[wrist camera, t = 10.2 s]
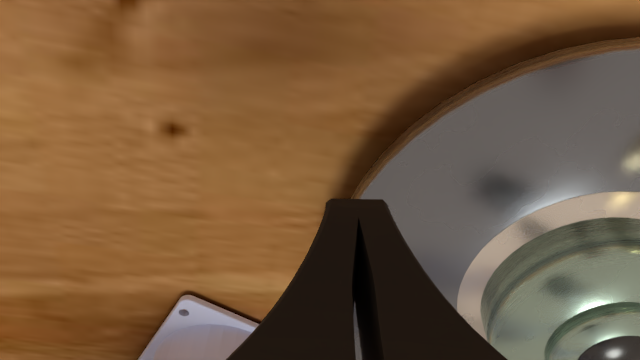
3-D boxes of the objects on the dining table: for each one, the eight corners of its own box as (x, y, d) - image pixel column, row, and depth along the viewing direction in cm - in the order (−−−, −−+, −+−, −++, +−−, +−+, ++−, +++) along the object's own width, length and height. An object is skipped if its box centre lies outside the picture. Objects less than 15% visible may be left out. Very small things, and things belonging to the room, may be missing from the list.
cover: (526, 387, 28) (546, 453, 25) (445, 273, 24) (459, 338, 21) (722, 323, 25) (770, 390, 22) (669, 180, 21) (720, 241, 18)
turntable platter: (665, 444, 32) (704, 522, 29) (289, 384, 30) (282, 461, 27) (1013, 111, 20) (1153, 179, 17) (418, -32, 18) (436, 12, 14)
